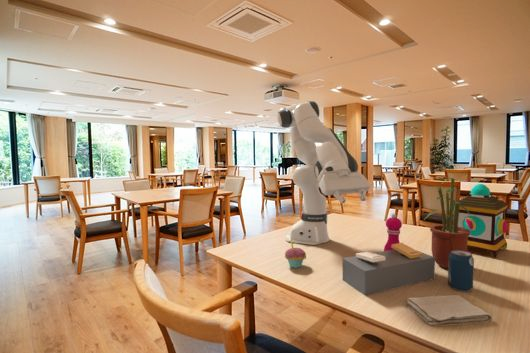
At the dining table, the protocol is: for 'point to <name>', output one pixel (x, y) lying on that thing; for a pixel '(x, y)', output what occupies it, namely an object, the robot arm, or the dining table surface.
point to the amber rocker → (406, 250)
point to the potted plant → (448, 229)
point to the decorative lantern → (484, 220)
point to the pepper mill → (392, 232)
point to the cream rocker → (370, 256)
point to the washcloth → (447, 310)
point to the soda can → (460, 270)
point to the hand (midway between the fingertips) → (353, 201)
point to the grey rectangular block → (387, 271)
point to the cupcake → (295, 256)
